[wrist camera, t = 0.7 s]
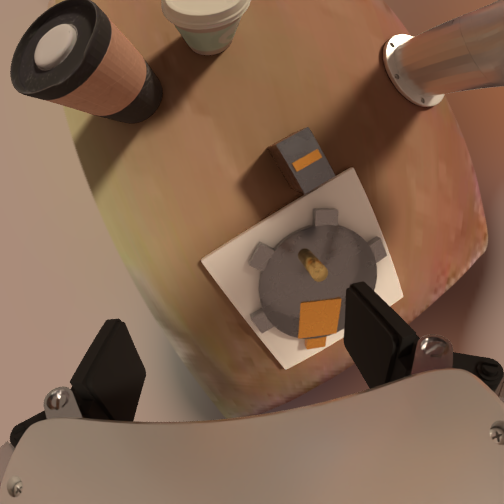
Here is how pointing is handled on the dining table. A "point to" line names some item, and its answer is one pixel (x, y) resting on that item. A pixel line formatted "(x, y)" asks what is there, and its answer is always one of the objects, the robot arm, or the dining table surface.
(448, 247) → the dining table surface
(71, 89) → the travel mug
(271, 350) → the board
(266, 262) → the sprocket
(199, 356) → the dining table surface
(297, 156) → the link
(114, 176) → the dining table surface
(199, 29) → the coffee cup
